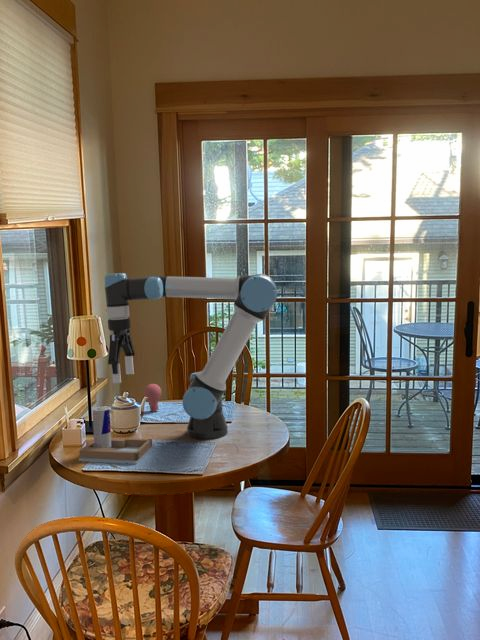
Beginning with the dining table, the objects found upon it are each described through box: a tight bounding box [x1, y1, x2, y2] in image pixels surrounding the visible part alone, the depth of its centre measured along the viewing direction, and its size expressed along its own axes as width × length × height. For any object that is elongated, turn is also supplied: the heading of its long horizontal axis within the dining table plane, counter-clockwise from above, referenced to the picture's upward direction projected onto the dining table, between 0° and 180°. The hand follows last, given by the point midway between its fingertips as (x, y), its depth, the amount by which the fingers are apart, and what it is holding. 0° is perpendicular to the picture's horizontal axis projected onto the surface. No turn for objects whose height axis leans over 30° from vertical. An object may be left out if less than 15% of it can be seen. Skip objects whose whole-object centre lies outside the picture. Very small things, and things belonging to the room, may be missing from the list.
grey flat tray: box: [78, 436, 154, 465], centre depth 194 cm, size 20×16×3 cm
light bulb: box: [144, 383, 162, 412], centre depth 244 cm, size 7×7×12 cm
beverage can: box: [92, 405, 112, 448], centre depth 194 cm, size 6×6×15 cm
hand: (123, 378), depth 200 cm, fingers open, 13 cm apart
